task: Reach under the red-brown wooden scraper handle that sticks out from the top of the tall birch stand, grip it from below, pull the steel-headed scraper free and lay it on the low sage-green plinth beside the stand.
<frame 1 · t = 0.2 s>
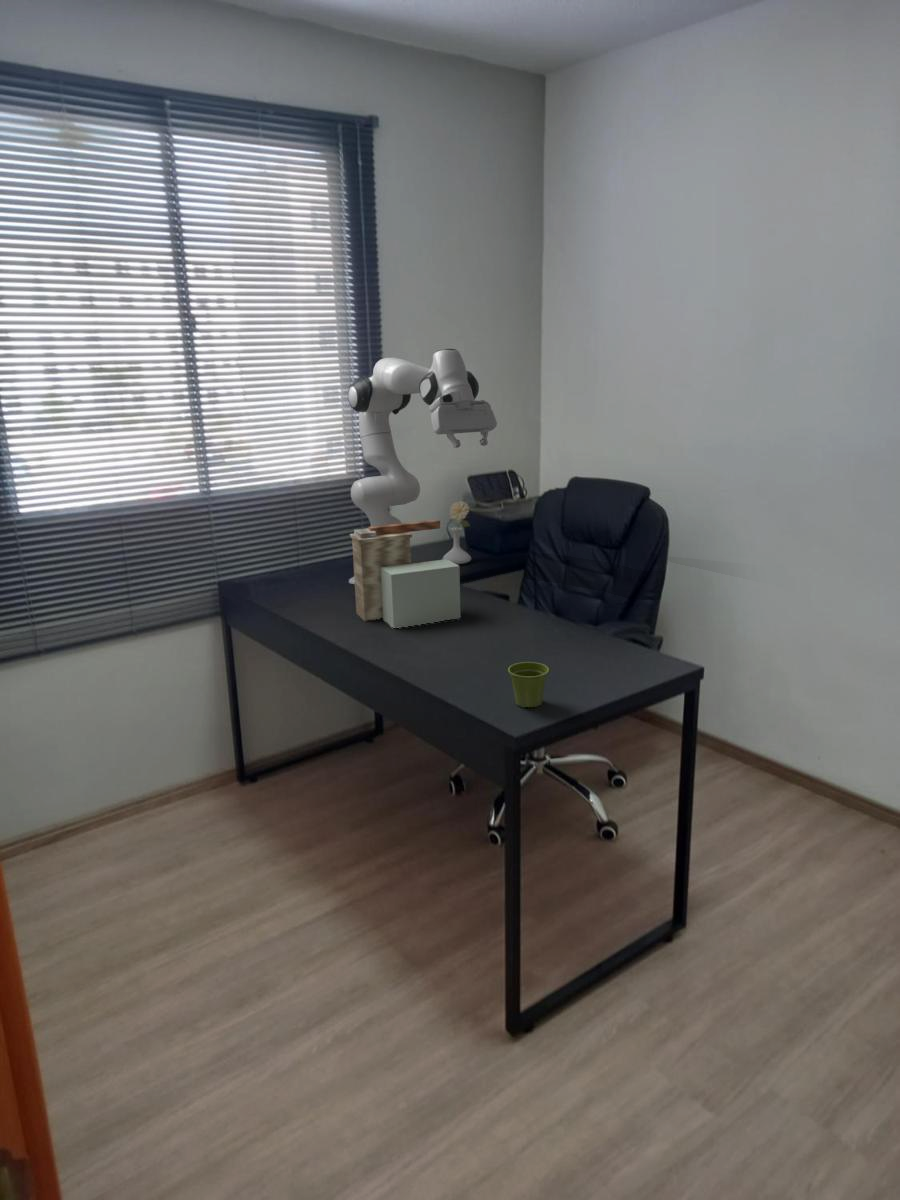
hand: (471, 445, 241), 54 cm above the table, tool tilted 25°, fingers open, 8 cm apart
scraper: (404, 531, 262), point 26 cm above the table, touching tall stand
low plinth: (421, 619, 260), on the table
tall stand: (384, 613, 267), on the table
plant pot: (528, 704, 196), on the table
flower in vase: (458, 563, 328), on the table
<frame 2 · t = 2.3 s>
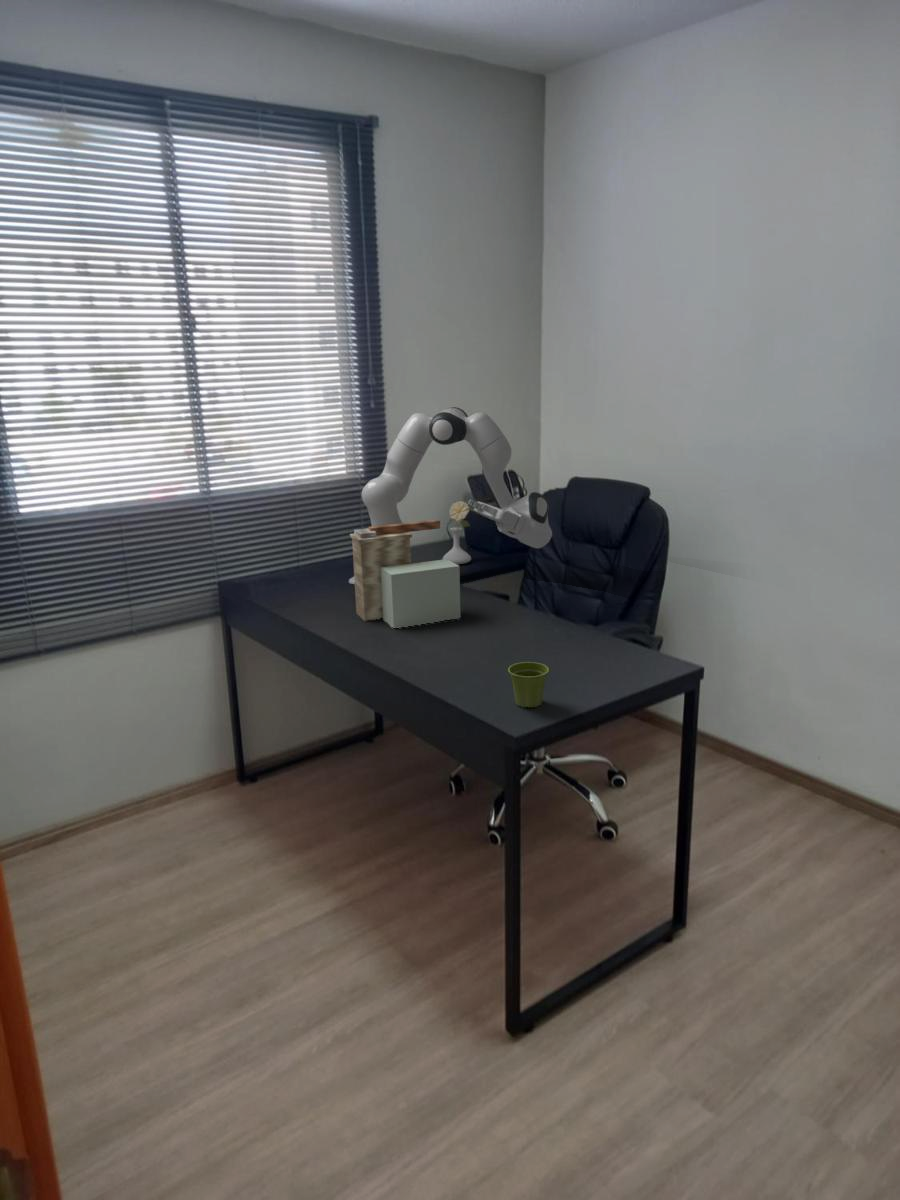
hand: (475, 504, 269), 32 cm above the table, tool pointing upward, fingers open, 8 cm apart
nothing on the table moved.
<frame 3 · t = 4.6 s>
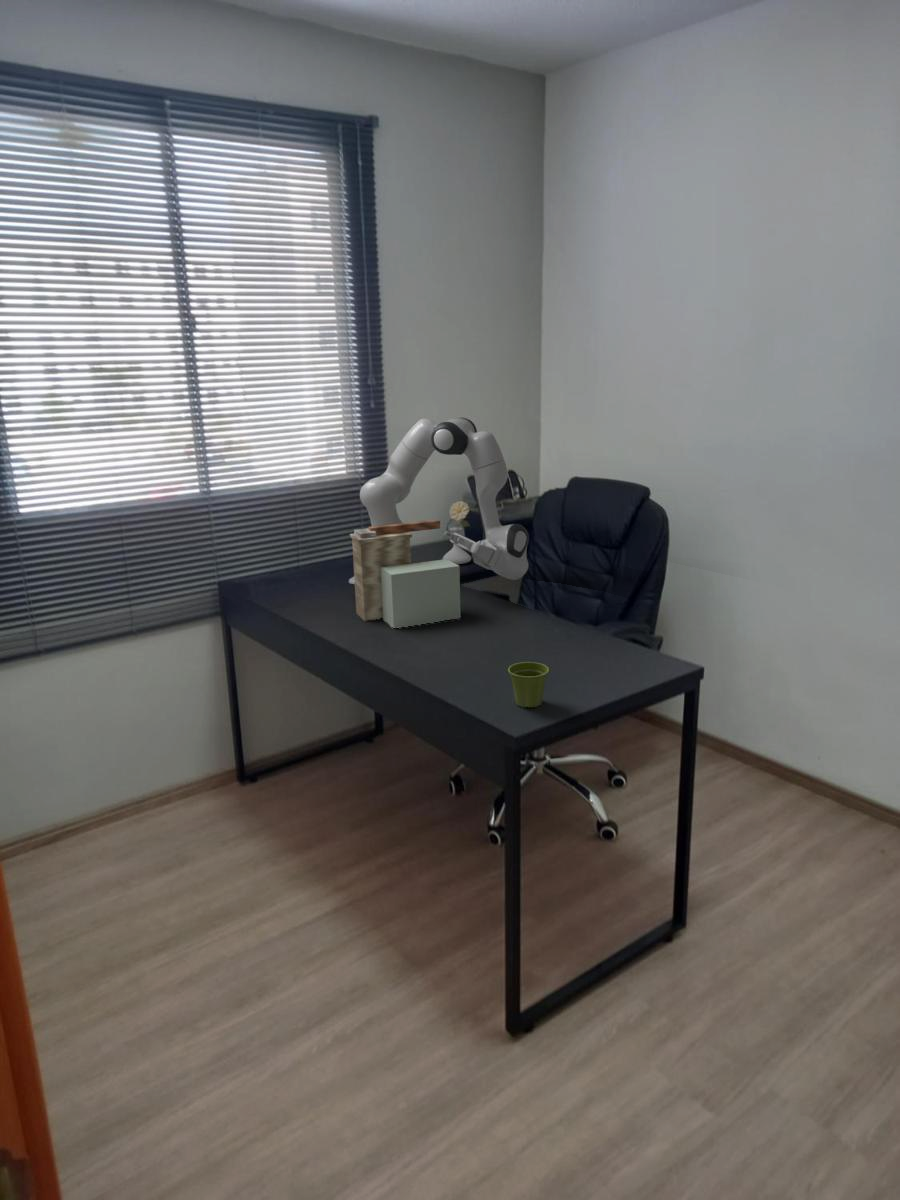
hand: (451, 536, 269), 23 cm above the table, tool pointing upward, fingers open, 8 cm apart
nothing on the table moved.
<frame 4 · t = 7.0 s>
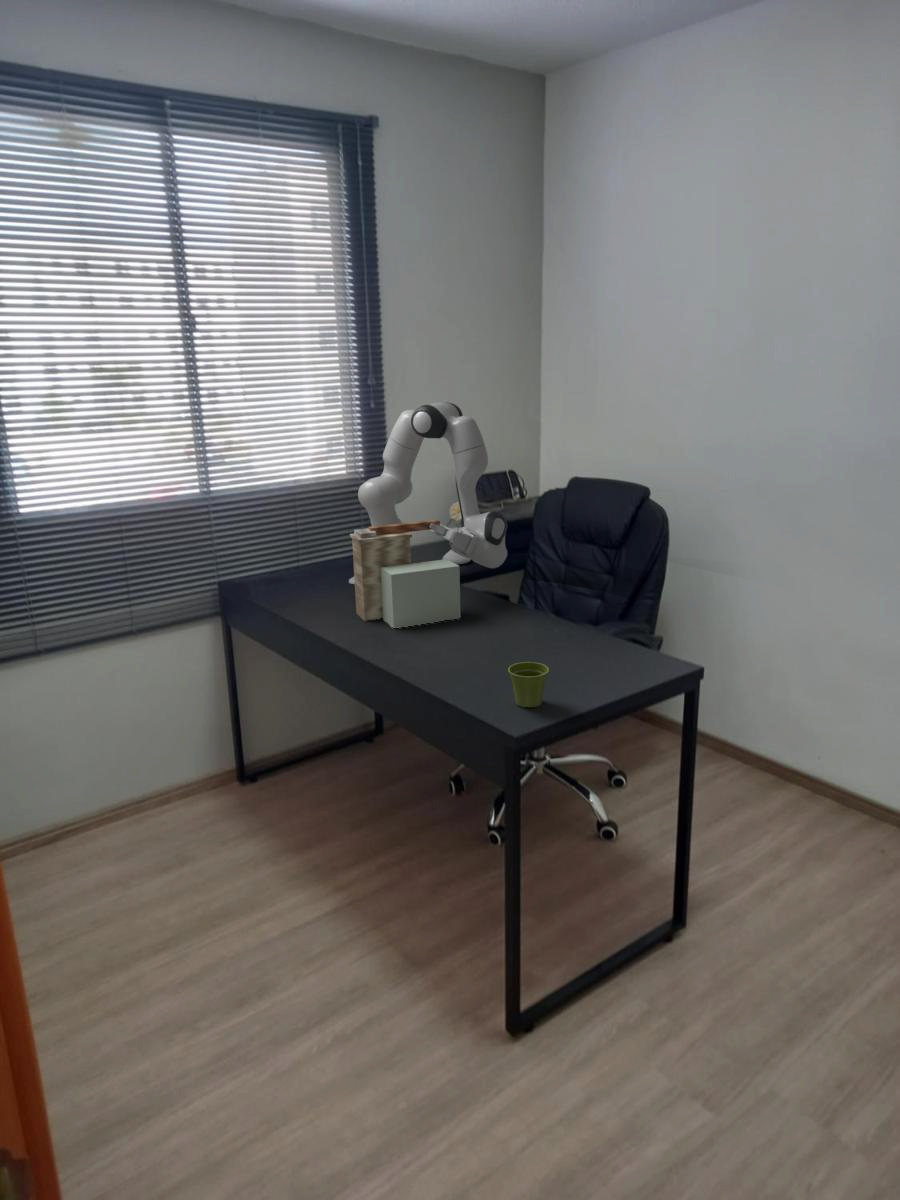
hand: (427, 523, 264), 28 cm above the table, tool pointing upward, fingers closed on scraper, 2 cm apart
scraper: (404, 531, 262), point 26 cm above the table, touching gripper, tall stand
everything else where it was.
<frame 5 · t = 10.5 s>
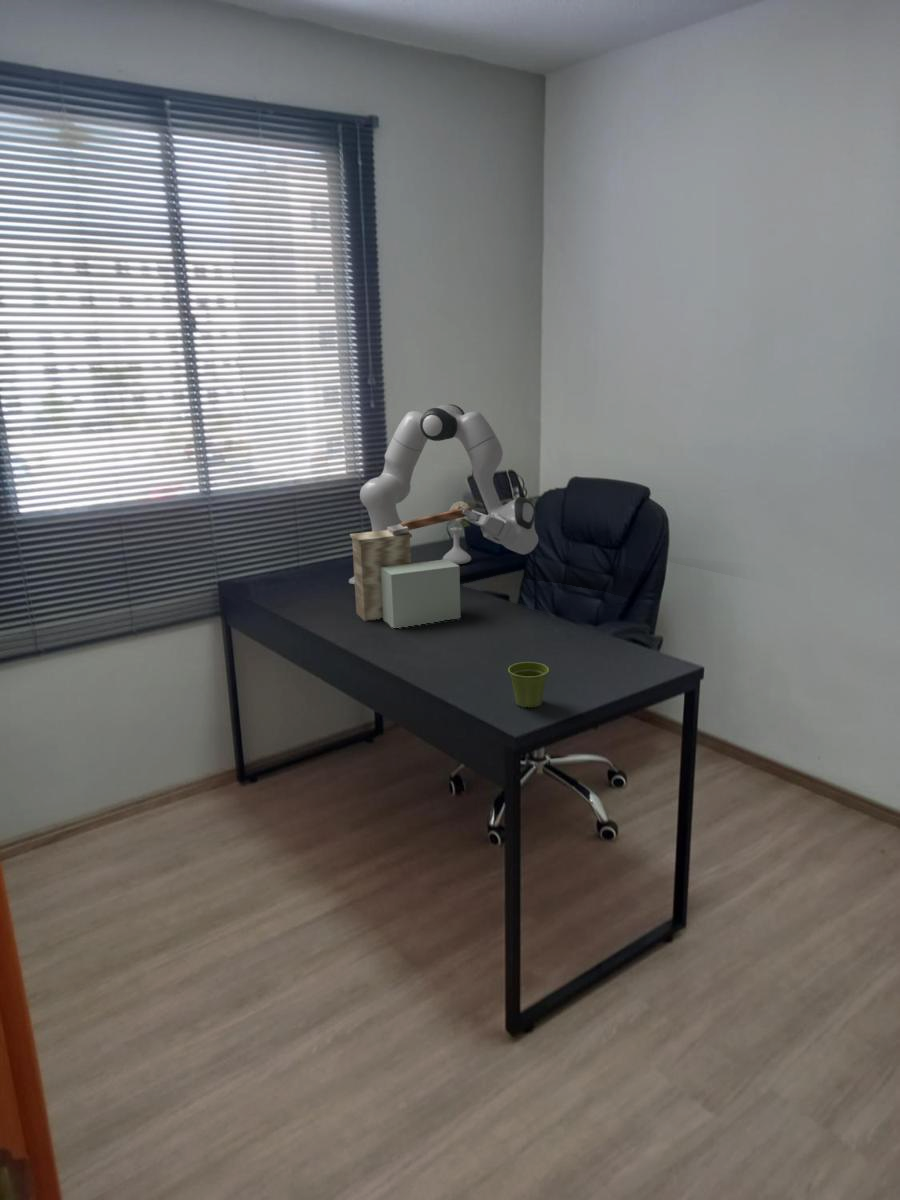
hand: (460, 509, 264), 32 cm above the table, tool pointing upward, fingers closed on scraper, 3 cm apart
scraper: (437, 522, 263), point 28 cm above the table, tilted 8°, touching gripper
everything else where it was.
when the fingers open (20 cm above the table, at t = 14.2 s): scraper stays where it is, resting on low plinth.
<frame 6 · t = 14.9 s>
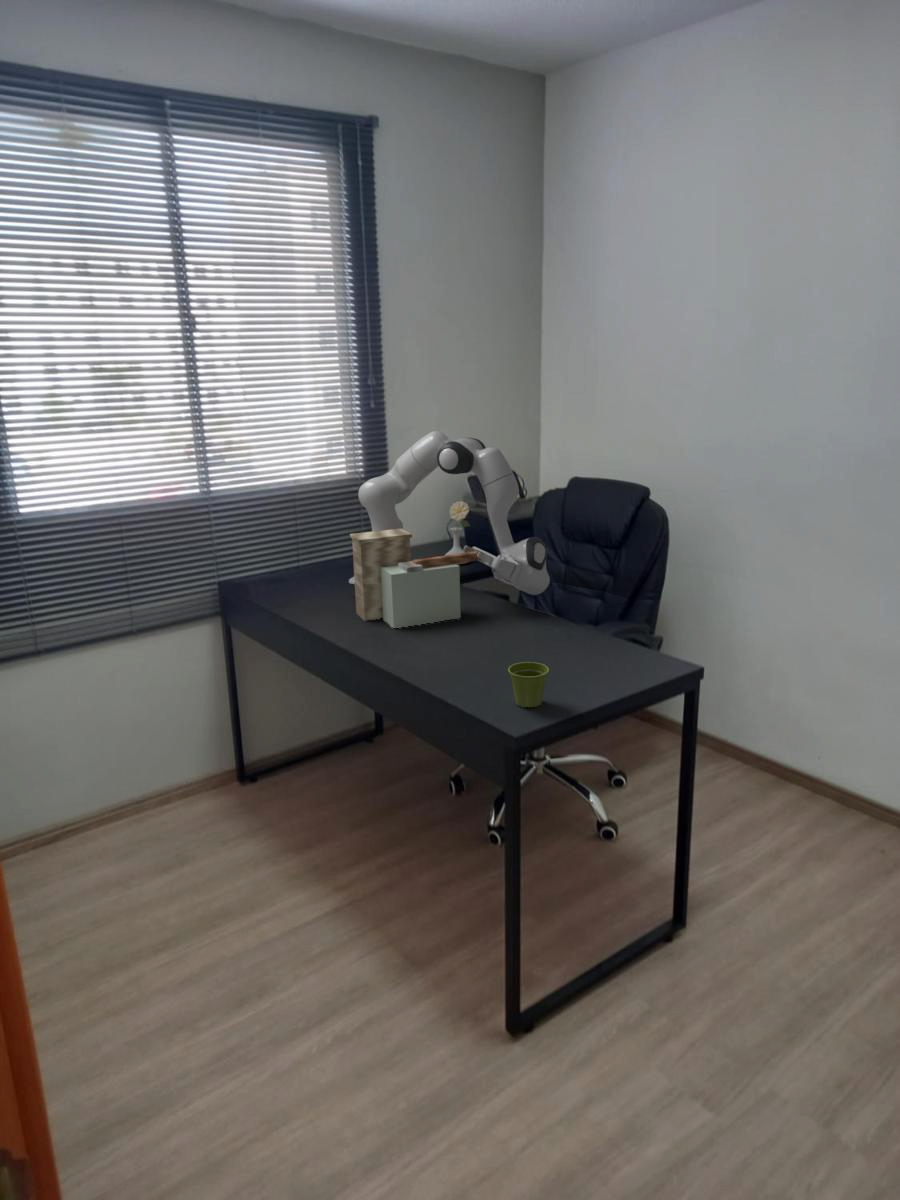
hand: (471, 550, 260), 20 cm above the table, tool pointing upward, fingers open, 8 cm apart
scraper: (448, 563, 258), point 17 cm above the table, touching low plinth
everything else where it was.
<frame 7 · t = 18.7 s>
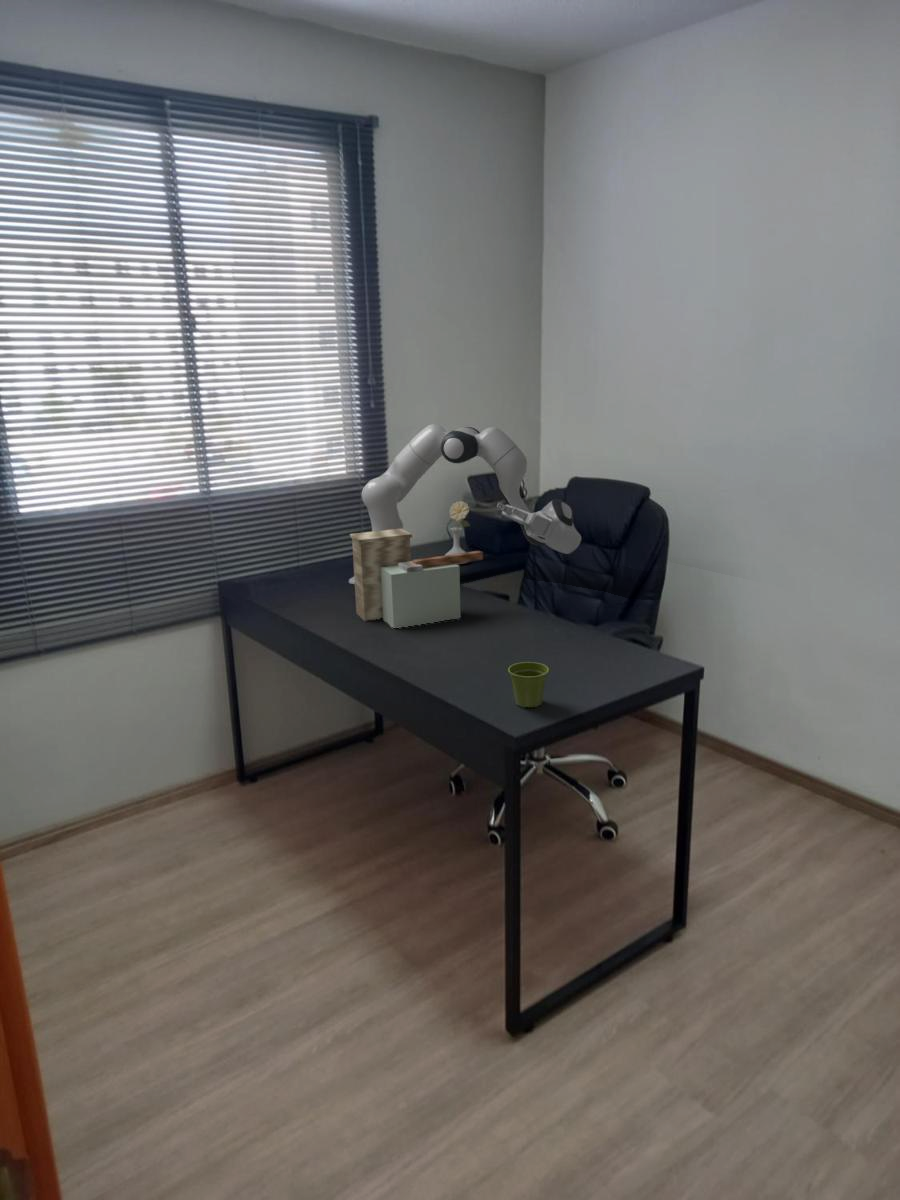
hand: (505, 507, 261), 33 cm above the table, tool pointing upward, fingers open, 8 cm apart
nothing on the table moved.
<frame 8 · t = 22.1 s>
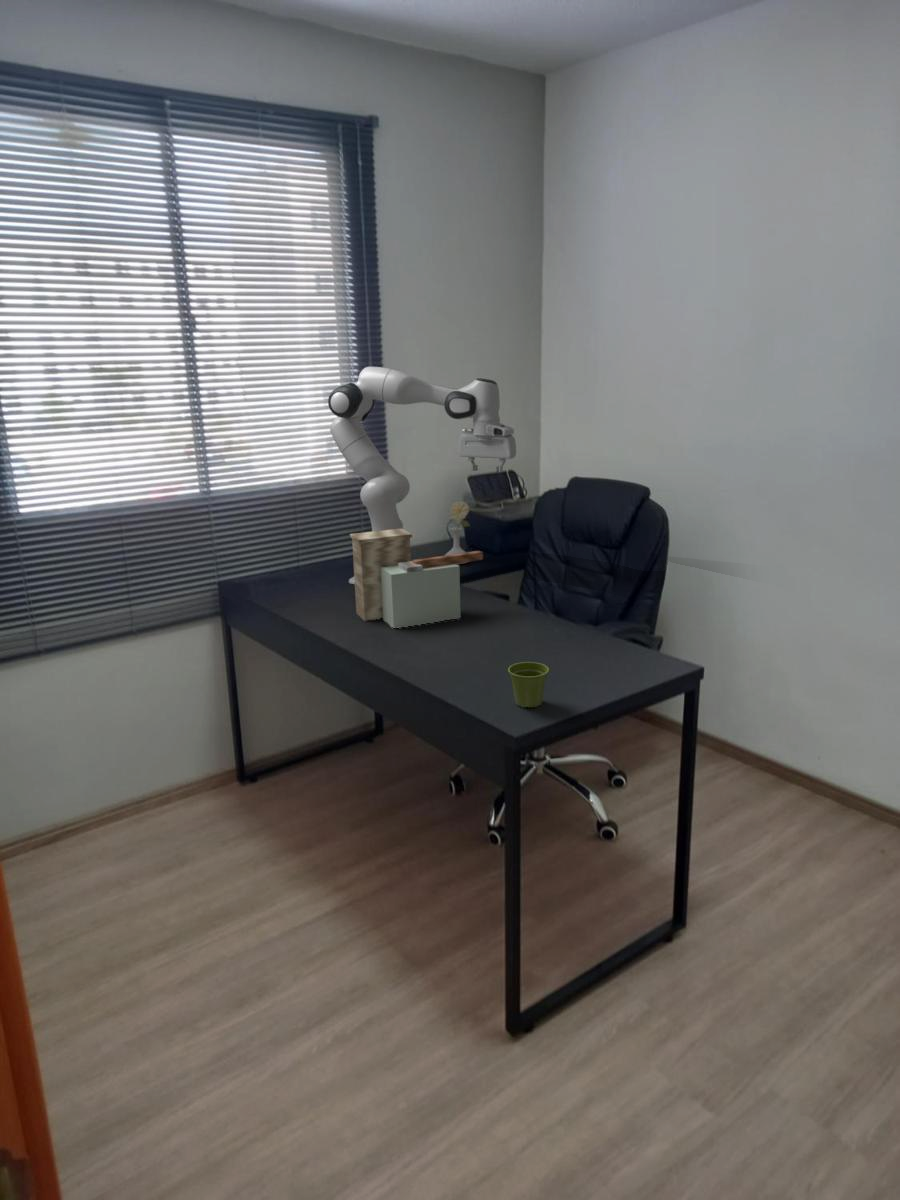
hand: (487, 471, 279), 41 cm above the table, tool pointing down, fingers open, 8 cm apart
nothing on the table moved.
at the end: scraper inside the target area on the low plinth (0.7 cm from its centre), point 17.0 cm above the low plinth's base; scraper touching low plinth; the gripper is holding nothing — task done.
